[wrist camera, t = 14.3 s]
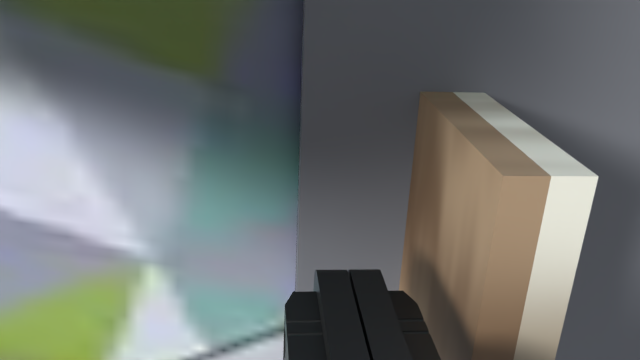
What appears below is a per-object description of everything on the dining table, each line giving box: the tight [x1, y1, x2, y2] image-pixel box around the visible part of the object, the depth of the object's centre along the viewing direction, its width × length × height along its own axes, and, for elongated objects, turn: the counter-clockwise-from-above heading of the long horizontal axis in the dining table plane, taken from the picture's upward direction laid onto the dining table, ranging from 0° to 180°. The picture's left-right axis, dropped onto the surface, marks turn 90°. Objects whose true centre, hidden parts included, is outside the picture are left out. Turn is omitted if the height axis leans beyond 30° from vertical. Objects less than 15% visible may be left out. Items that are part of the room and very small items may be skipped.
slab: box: [399, 92, 599, 360], centre depth 15 cm, size 8×2×6 cm, turn 178°
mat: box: [295, 0, 640, 360], centre depth 18 cm, size 16×14×1 cm
